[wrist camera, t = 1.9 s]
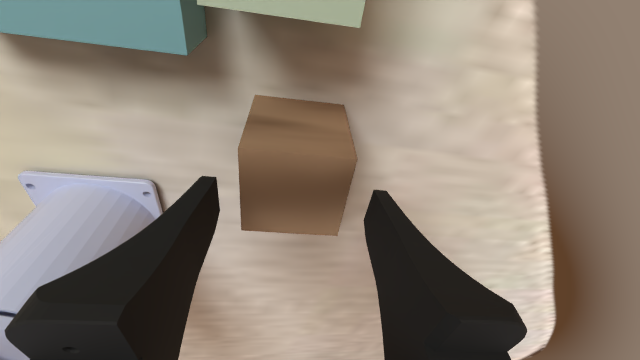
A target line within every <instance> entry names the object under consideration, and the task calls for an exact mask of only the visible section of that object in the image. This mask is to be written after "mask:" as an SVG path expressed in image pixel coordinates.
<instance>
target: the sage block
mask: <svg viewBox="0 0 640 360" xmlns="http://www.w3.org/2000/svg"><path fill="white" fill-rule="evenodd" d="M197 5H203V6H210V7H217V8H224V9H231V10H238V11H245V12H252V13H259V14H266V15H273V16H280V17H287V18H294V19H300V20H307V21H314V22H321V23H328V24H335V25H342V26H349V27H356V28H360V25H361V20H362V15H363V10H364V5H365V0H197Z"/></svg>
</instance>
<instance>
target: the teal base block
mask: <svg viewBox="0 0 640 360" xmlns="http://www.w3.org/2000/svg"><path fill="white" fill-rule="evenodd" d="M0 32H2V33H10V34H18V35H26V36H34V37H42V38H50V39H58V40H67V41H75V42H83V43H91V44H99V45H107V46H115V47H123V48H131V49H139V50H147V51H156V52H164V53H172V54H180V55H188V54H189V53H190V52H191V51H193V50H194V49H195V48H196V47H197V46H198V45H199V44H200V43H201V42H202V41H203V40H204V39H205V38H206V37H207V31H206V20H205V10H204V6H203V5H197V0H0Z"/></svg>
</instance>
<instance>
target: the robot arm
mask: <svg viewBox="0 0 640 360" xmlns="http://www.w3.org/2000/svg"><path fill="white" fill-rule="evenodd" d="M18 179H19V181H20V183H21V184H22V186H23V187H24V189H25V190H26V192H27V193H28V195H29V197H30V198H31V200H32V201H33V203H34V204H35V206H36V207H35V208H34V209H33V210H32V211H31V212H30V213H29V214H28V215H27V216H26V217H25V218H24V219H23V220H22V221H21V222H20V223H19V224H18V225H17V226H16V227H15V228H14V229H13V230H12V231H11V232H10V233H9V234H8V235H7V236H6V237H5V238H4V239H3V240H2V241H1V242H0V360H178V357H179V352H180V348H181V343H182V339H183V334H184V330H185V325H186V321H187V317H188V313H189V309H190V305H191V301H192V297H193V293H194V289H195V285H196V282H197V279H198V275H199V273H200V270H201V267H202V265H203V262H204V259H205V256H206V254H207V251H208V248H209V246H210V243H211V240H212V238H213V235H214V232H215V229H216V225H217V221H218V216H219V212H220V207H219V198H218V189H217V179H216V177H208V176H202V177H200V178H199V179H198V180H197V181H196V182H195V183H194V184H193V185H192V186H191V187H190V188H189V189H188V190H187V191H186V192H185V193H184V194H183V195H182V196H181V197H180V198H179V199H178V200H177V201H176V202H175V203H174V204H173V205H172V206H171V207H170V208H168V209H167V210H166V211H165V212H164V213H163V212H162V208H161V204H160V201H159V197H158V194H157V190H156V186H155V184H154V183H153V182H151V181H149V180H144V179H131V178H117V177H104V176H90V175H77V174H63V173H50V172H37V171H23V172H22V173H20V174H19V175H18ZM147 192H149V193H147ZM364 227H365V237H366V242H367V247H368V251H369V255H370V260H371V264H372V268H373V272H374V276H375V280H376V285H377V291H378V298H379V306H380V314H381V324H382V333H383V345H384V357H385V360H511V358H510V356H509V354H508V351H509V350H510V349H511V348H513V347H514V346H515V345H517V344H518V343H519V342H520V341H521V340H522V339H523V338H524V337H525V335H526V333H527V328H526V326H525V324H524V323H523V321H522V319H521V317H520V316H519V314H518V312H517V310H516V309H515V307H514V305H513V304H512V303H510V302H508V301H507V300H505V299H503V298H502V297H500V296H499V295H497V294H495V293H494V292H492V291H490V290H489V289H487V288H486V287H484V286H483V285H481V284H480V283H479V282H477V281H476V280H474V279H473V278H471V277H470V276H469V275H467V274H466V273H465V272H463V271H462V270H461V269H460V268H458V267H457V266H456V265H455V264H453V263H452V262H451V261H450V260H449V259H447V258H446V257H445V256H444V255H443V254H442V253H441V252H440V251H438V250H437V249H436V248H435V247H434V246H433V245H432V244H431V243H430V242H429V241H428V240H427V239H426V238H425V237H424V236H423V235H422V234H421V232H420V231H419V230H418V229H417V228H416V227H415V226H414V225H413V224H412V222H411V221H410V220H409V219H408V218H407V216H406V215H405V214H404V213H403V211H402V210H401V209H400V208H399V206H398V205H397V204H396V203H395V201H394V200H393V199H392V197H391V196H390V195H389V194H388V192H387V191H382V190H374V191H373V194H372V197H371V200H370V203H369V206H368V209H367V212H366V215H365V218H364Z"/></svg>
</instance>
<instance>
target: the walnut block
mask: <svg viewBox="0 0 640 360" xmlns="http://www.w3.org/2000/svg"><path fill="white" fill-rule="evenodd" d="M238 162H239V185H240V208H241V230H245V231H262V232H280V233H297V234H315V235H332V236H337V235H338V231H339V227H340V223H341V219H342V215H343V212H344V208H345V204H346V200H347V196H348V192H349V189H350V185H351V181H352V177H353V173H354V170H355V166H356V162H357V156H356V152H355V148H354V144H353V140H352V136H351V132H350V128H349V124H348V120H347V116H346V112H345V108H344V105H340V104H331V103H322V102H314V101H305V100H296V99H287V98H278V97H269V96H260V95H255V97H254V100H253V103H252V106H251V109H250V112H249V115H248V118H247V122H246V125H245V128H244V131H243V134H242V137H241V140H240V143H239V146H238Z"/></svg>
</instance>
